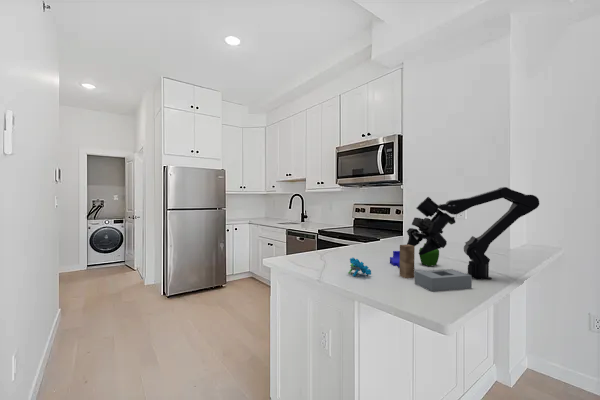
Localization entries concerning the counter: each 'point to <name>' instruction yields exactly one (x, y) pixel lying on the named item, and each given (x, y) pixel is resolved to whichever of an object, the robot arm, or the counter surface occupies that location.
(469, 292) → the counter surface
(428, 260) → the bell pepper
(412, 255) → the walnut peg
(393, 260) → the blue stepped arch
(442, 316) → the counter surface
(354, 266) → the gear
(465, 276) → the grey socket block
